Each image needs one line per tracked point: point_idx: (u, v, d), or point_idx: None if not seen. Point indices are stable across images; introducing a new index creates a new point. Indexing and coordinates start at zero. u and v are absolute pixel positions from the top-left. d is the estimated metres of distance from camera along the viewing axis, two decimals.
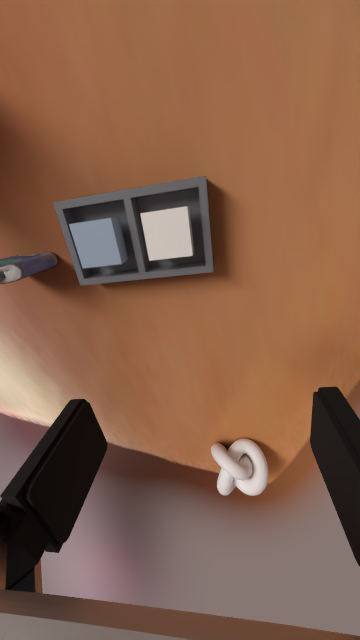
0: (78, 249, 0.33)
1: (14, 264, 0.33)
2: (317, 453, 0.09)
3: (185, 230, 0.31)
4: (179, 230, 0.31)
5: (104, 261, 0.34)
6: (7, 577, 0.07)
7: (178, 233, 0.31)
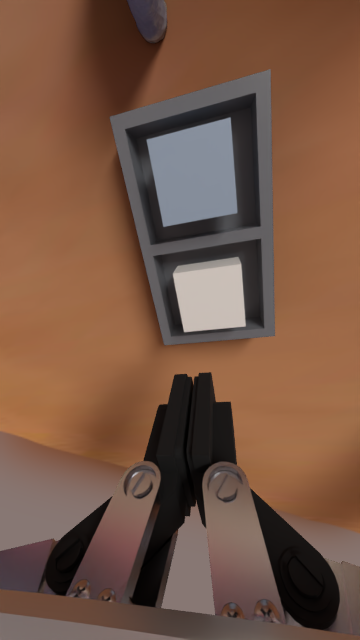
0: (182, 134, 0.17)
1: None
2: None
3: (215, 324, 0.23)
4: (216, 316, 0.23)
5: (164, 192, 0.19)
6: None
7: (212, 316, 0.23)
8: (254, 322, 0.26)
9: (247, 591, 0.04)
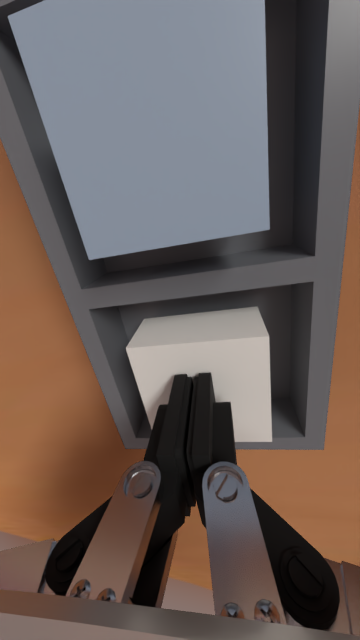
0: None
1: None
2: None
3: None
4: None
5: (80, 176, 0.07)
6: None
7: None
8: (283, 415, 0.15)
9: (247, 591, 0.04)
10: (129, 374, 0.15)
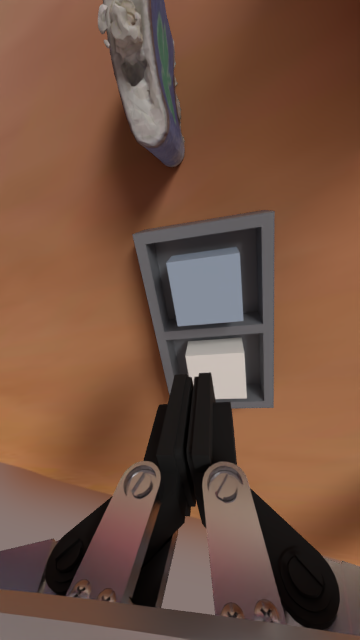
0: (198, 261, 0.20)
1: (167, 129, 0.14)
2: None
3: (220, 395, 0.27)
4: (222, 389, 0.26)
5: (180, 301, 0.21)
6: None
7: (218, 389, 0.26)
8: (255, 391, 0.29)
9: (247, 591, 0.04)
10: (176, 370, 0.29)
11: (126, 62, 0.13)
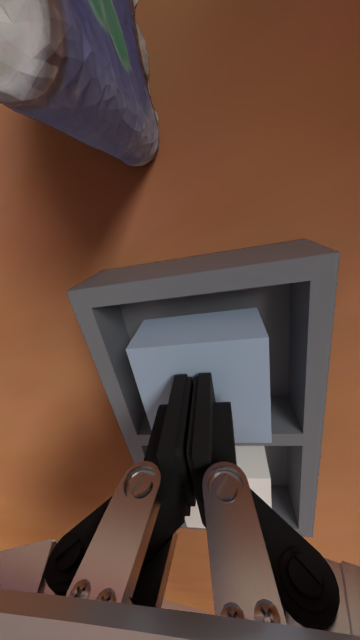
0: (185, 349, 0.10)
1: (55, 38, 0.04)
2: None
3: None
4: None
5: (156, 409, 0.12)
6: None
7: None
8: (282, 504, 0.19)
9: (247, 592, 0.04)
10: None
11: None
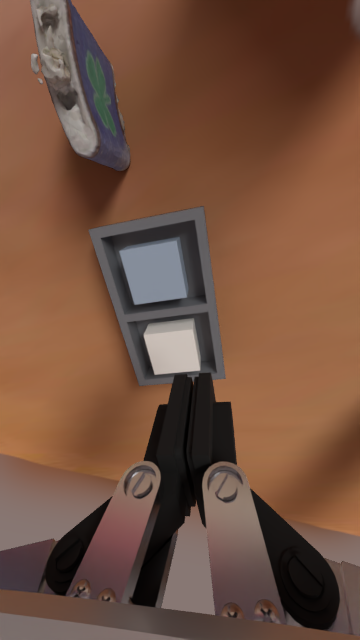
0: (144, 249, 0.24)
1: (98, 143, 0.18)
2: None
3: (177, 369, 0.31)
4: (178, 364, 0.30)
5: (134, 283, 0.26)
6: None
7: (175, 363, 0.30)
8: (210, 366, 0.33)
9: (247, 591, 0.04)
10: (140, 350, 0.33)
11: (60, 91, 0.16)
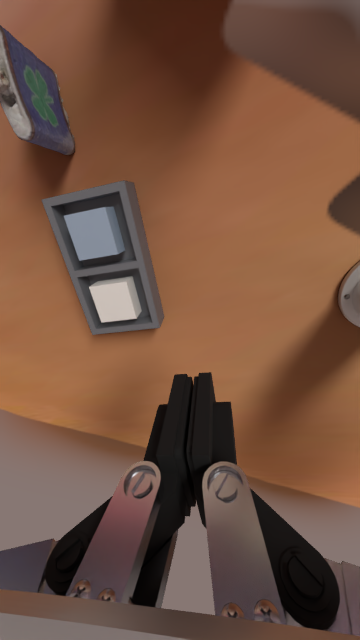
0: (82, 214, 0.31)
1: (32, 129, 0.25)
2: None
3: (118, 317, 0.38)
4: (118, 312, 0.37)
5: (77, 242, 0.33)
6: None
7: (116, 312, 0.37)
8: (150, 319, 0.40)
9: (247, 592, 0.04)
10: (93, 305, 0.40)
11: (4, 94, 0.24)
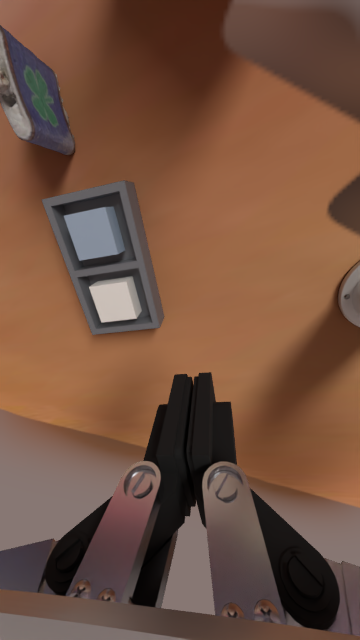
0: (82, 214, 0.31)
1: (32, 130, 0.25)
2: None
3: (118, 317, 0.38)
4: (118, 312, 0.37)
5: (77, 242, 0.33)
6: None
7: (116, 312, 0.37)
8: (150, 319, 0.40)
9: (247, 591, 0.04)
10: (93, 305, 0.40)
11: (4, 94, 0.24)
